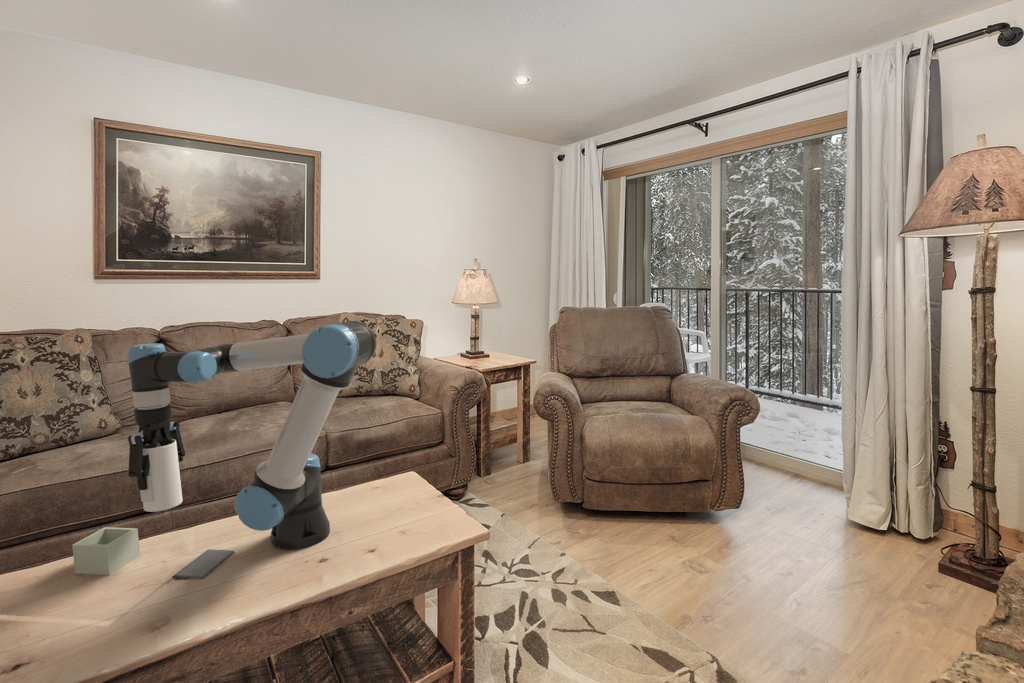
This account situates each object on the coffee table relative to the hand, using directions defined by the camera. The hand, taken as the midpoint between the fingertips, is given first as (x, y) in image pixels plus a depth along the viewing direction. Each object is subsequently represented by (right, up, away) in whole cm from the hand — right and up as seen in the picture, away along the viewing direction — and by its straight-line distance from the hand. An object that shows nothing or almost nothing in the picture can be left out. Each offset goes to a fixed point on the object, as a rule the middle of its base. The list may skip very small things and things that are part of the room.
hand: (161, 493), depth 131 cm
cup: (0, -3, 0) cm, 3 cm away
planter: (-11, -17, -3) cm, 21 cm away
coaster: (+10, -17, -2) cm, 20 cm away
